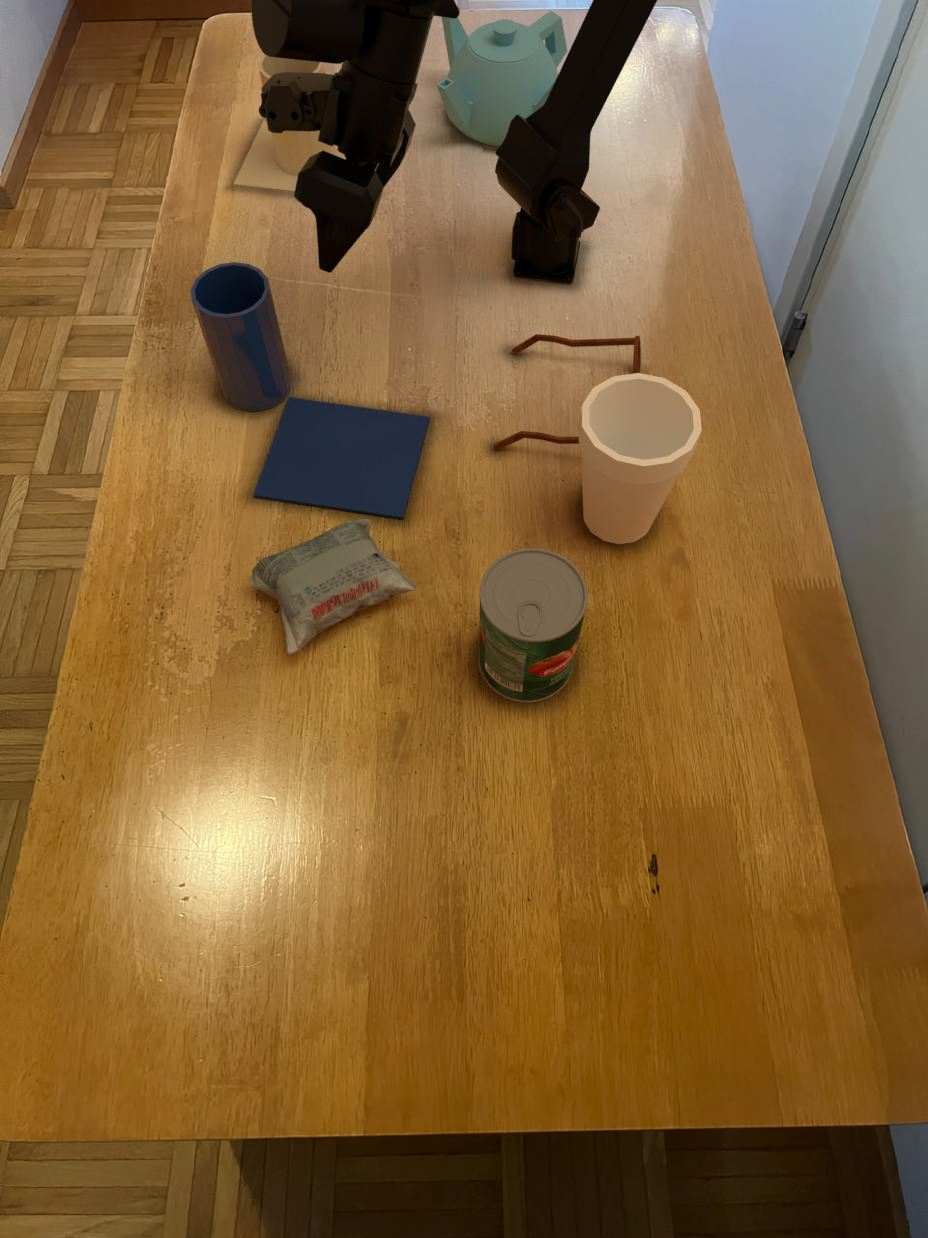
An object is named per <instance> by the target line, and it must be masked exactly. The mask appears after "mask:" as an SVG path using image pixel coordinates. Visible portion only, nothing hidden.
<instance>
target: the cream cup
mask: <svg viewBox="0 0 928 1238" xmlns="http://www.w3.org/2000/svg"><path fill="white" fill-rule="evenodd" d="M258 70H259V75H260V80H261V85H262V86H263V85H264V84H265V83H266V82H267V81H268V80H269V79H270V78H271V77H272V76H273V75H274V74H277V73H282V72H297V73H325V65H324V63H323V62H314V61H304V60H295V59H285V58H276V57H269V56H267V55H265V54H264V53H263V54H262V55H261V56H260V59H259V61H258ZM325 74H326V73H325ZM262 86H261V87H262ZM319 133H320V130H319V131H283V133H272V137H273V142H274V147H275V152H276V157H277V162H278V165H279V166H280V168H281V169H282V170H284V171H285V172H287V173H289V174H292V175H296V176H298V173H299V172H300V170H301V169H302V167H303V166H304V165H305V163H306V162H307V160H308V159H309V157H311V156H313V155H315V154H317V153H319V152H321V151H326V152H328V153H331V154H333V155H335V145H333V146H329V145H327V144H324V143H322V142H319V141H318V138H319Z"/></svg>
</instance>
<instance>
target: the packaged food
mask: <svg viewBox="0 0 928 1238" xmlns="http://www.w3.org/2000/svg"><path fill="white" fill-rule="evenodd" d="M372 524H373V522H372V520H371V518H358V519H351V520H345V521H344V522H342V523H340V524H338V525H336V526H335V527H333V528H331V529H329V530H327V531H324V532H323V533H321V534H319V535H317V536H316V537H313V538H312V539H308V540H306V541H303V542H301V543H299V544H296V545H294V546H292V547H290V548H288V549H285V550H283V551H281V552H278V553H275V554H272V555H269V556H265V557H261V558H260V559H259V561H258V562H257V563H256V565H255V566H254V567H253V569H252V570H251V573H252V575H251V577H250V578H249V586H251V588H252V589H253V591H260V592H262V593H264V594H266V595H268V596H270V597H272V598H273V599H275V600H276V601H277V603H278V605H279V608H280V614H281V621H282V625H283V632H284V637H285V647H286V653H287V655H288V656H292V655H295V654H297V653H298V652H300V651H301V650H302V649H303V648H304V647H305V645H307V644H308V643H309V642H310V641H311V640H312V639H313V638H315V637H316V636H317V635H319V634H321V633H323V632H324V631H326V630H327V629H330V628H331V627H332V626H334V625H336V624H338V623H339V622H341V621H344V620H345V619H347V618H349V617H351V616H353V615H354V614H355V613H357V612H359V611H361V610H364V609H368V608H371V607H373V606H375V605H377V604H380V603H383V602H385V601H388V600H390V599H393V598H395V597H398V596H400V595H405V594H407V593H410V592H414V591H417V584H416V583H415V582H414V581H413V579H410V578H409V577H408V576H407V575H406V574H405V572H403V571H401V570H400V569H399V568H400V564H399V563H397V562H395V561H394V560H391V558H389V557H388V556H387V555H386V554H385V553H383V552H382V550H381V549H379V547H378V546H377V545H376V543H375V541H374V539H373V538H372V537H371V536H370V532H371V526H372Z"/></svg>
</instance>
